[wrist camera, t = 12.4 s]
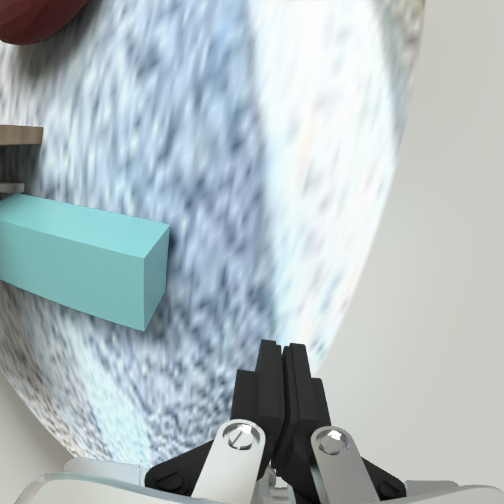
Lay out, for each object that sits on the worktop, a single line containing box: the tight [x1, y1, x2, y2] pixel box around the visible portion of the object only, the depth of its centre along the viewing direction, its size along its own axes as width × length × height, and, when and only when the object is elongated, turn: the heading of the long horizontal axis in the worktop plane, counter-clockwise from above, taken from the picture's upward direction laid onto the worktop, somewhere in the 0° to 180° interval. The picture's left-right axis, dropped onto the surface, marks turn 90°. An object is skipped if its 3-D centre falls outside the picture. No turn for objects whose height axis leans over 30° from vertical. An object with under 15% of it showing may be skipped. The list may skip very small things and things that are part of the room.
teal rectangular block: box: [0, 193, 170, 332], centre depth 21 cm, size 16×6×5 cm, turn 78°
